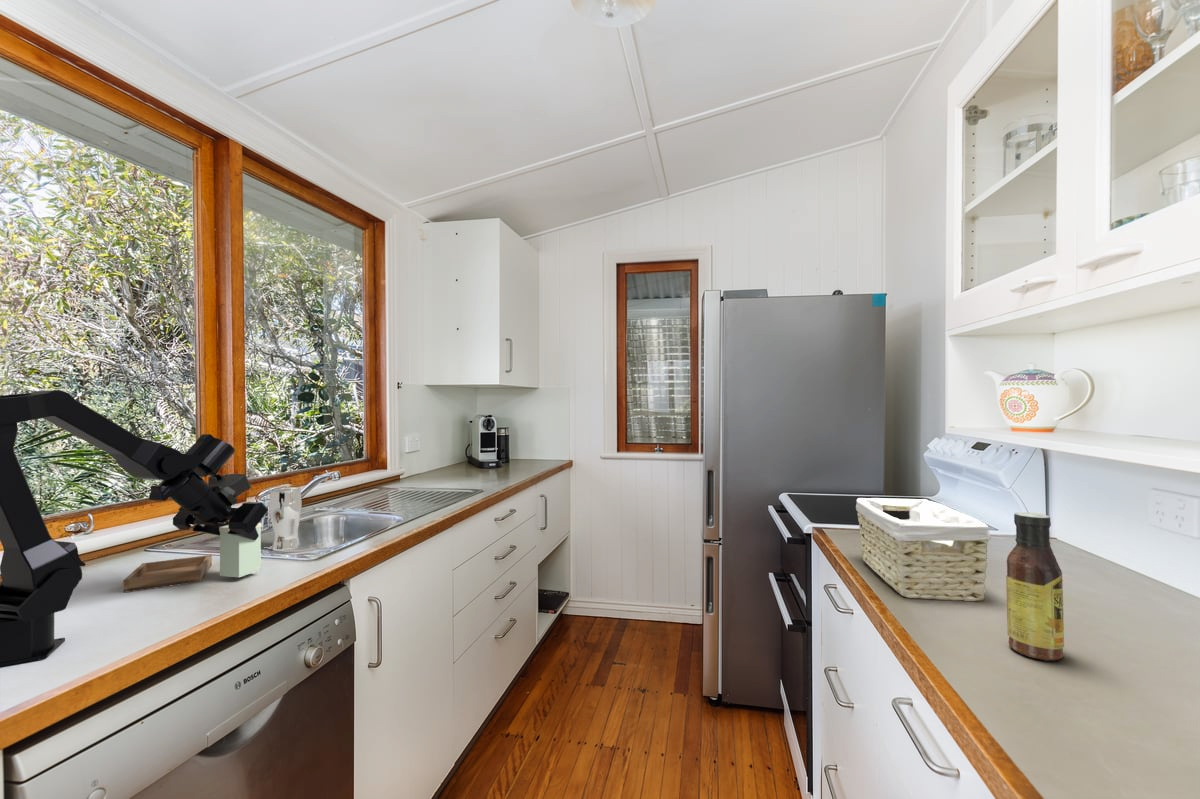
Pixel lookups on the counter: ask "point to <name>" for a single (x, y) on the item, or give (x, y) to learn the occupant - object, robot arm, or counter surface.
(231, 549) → the tea tin
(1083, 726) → the counter surface
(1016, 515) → the sauce bottle
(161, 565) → the tray
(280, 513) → the beer glass
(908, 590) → the storage basket
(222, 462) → the robot arm
